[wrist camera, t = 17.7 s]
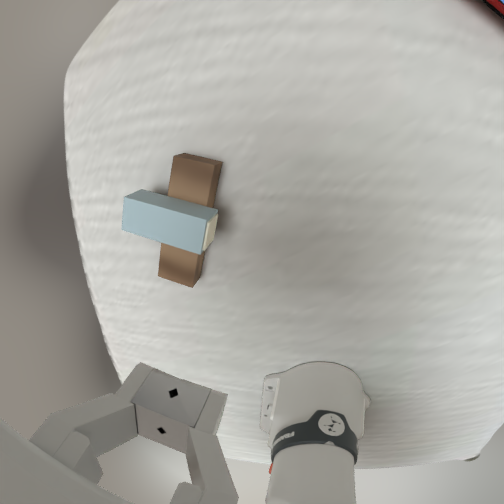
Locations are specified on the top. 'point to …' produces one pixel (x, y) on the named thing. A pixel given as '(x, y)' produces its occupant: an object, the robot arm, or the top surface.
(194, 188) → the rail
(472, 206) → the top surface
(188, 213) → the block
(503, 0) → the handheld game console
